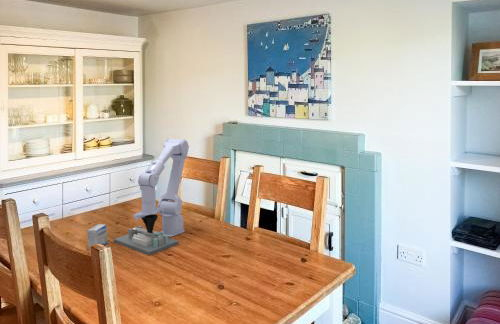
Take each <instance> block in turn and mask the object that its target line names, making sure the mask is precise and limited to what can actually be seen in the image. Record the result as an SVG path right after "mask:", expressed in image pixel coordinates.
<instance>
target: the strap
mask: <svg viewBox="0 0 500 324" xmlns="http://www.w3.org/2000/svg"><path fill="white" fill-rule="evenodd" d="M131 229H133V231H137V232H142V233H146V234H150V235H155V236H159V235H162V234H163V233H162V231H157V230H153V232H147V229H146V228H143V227H142V228H139V227H138V226H136V227H133V228H131Z"/></svg>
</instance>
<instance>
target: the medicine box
mask: <svg viewBox="0 0 500 324" xmlns="http://www.w3.org/2000/svg"><path fill="white" fill-rule="evenodd" d="M86 232H87V244H88V249H89V250H91V249H90V246H91V245H94V244H102V245H104V246H106V245H107V244H108V229H107V224H104V223H103V224H102V223H99V224H95V225H94V226H92V227H91V228H89V229H87V231H86Z"/></svg>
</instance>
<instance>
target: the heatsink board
mask: <svg viewBox="0 0 500 324" xmlns="http://www.w3.org/2000/svg"><path fill="white" fill-rule="evenodd" d="M137 227H139V228H143V225H140V224H139V225H137ZM127 232H128V233H127V234H124V235H122V236H117V237H115V238H113V243H115V244H117V245H120V246H123V247H125V248H127V249H130V250H133V251H137V252H138V253H142V254H144V255H147V256H152V255H155V254H157V253H160V252H162V251H165V250H168V249H170V248H172V247H174V246H178V245H179V243H180V242H179V240H176V239H174V238H171V237H168V236H167V235H163V234H162V235H159V236H155V235H150V234H146V233H142V232H137V231H133V229H132V228H128V231H127Z"/></svg>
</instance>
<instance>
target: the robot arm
mask: <svg viewBox="0 0 500 324" xmlns="http://www.w3.org/2000/svg"><path fill="white" fill-rule="evenodd" d="M189 149H190V145H189V142H188V141H187V139H178V138H175V139H174V138H167V139H165V141H164V142H163V150H162V151H161V152H160V154H159V156H158V158H157V159H156V160H155V159H154V160H153V161H152V162H151V163H150V164H149V166H148V168H147V169H146V171H145V172H142V173H141V174H139V176H138V180H137V183H138V186H139V190H140V191H141V211H139V212H137V213H134V214H133V219H134V220H140V219H141V220H142V222H143V223H144V225H145V229H147V232H153V231H154V226H155V223H156V221H157V219H158V217H159V216H158V214H160V216H161V222H162V223H161V225H162V226H161V227H162V230H161V232H162V233H163V235H167V237H168V238H171V237H174V236H177V235H179V234H183V233H185V231H186V230H184V217H183V215H182V214H181V212H182V209H183V206H182V202H183V200H182V199H181V197H180V196H179V189H180V186H181V180H182V176H183V170H184V165H185V160H187V157H188V154H189V153H188V152H189ZM170 158H171V159H172V164H171V170H170V174H169V179H168V184H167V189H166V192H165V193H164V194H163V195H162V196H160V200H159V202H158V204H156V203H157V201H156V197H157V196H156V187H157V186H158V183H159V179H160V175H161V174H162V173H163V171H164V169H165V164H166V162H168V160H169V159H170Z"/></svg>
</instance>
